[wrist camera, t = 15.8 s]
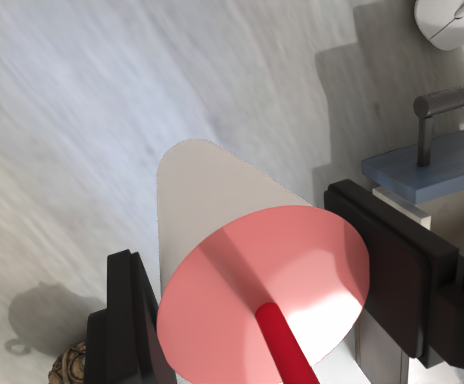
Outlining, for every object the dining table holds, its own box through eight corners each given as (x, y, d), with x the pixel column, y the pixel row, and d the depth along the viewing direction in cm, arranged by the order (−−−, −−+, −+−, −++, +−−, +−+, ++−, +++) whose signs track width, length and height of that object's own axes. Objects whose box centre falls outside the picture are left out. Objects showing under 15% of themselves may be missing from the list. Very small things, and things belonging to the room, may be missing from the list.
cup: (108, 194, 16) (106, 539, 5) (180, 89, 15) (355, 242, 4) (207, 245, 18) (341, 546, 8) (273, 158, 17) (528, 360, 7)
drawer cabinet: (351, 254, 33) (411, 313, 26) (468, 214, 35) (551, 257, 28) (355, 362, 39) (404, 431, 33) (454, 322, 41) (518, 379, 35)
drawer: (360, 96, 26) (420, 113, 20) (493, 60, 28) (578, 68, 22) (364, 292, 34) (407, 339, 29) (466, 254, 36) (524, 292, 31)
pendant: (145, 343, 30) (150, 397, 26) (64, 393, 30) (55, 455, 26) (109, 306, 28) (107, 358, 23) (20, 359, 27) (2, 423, 23)
